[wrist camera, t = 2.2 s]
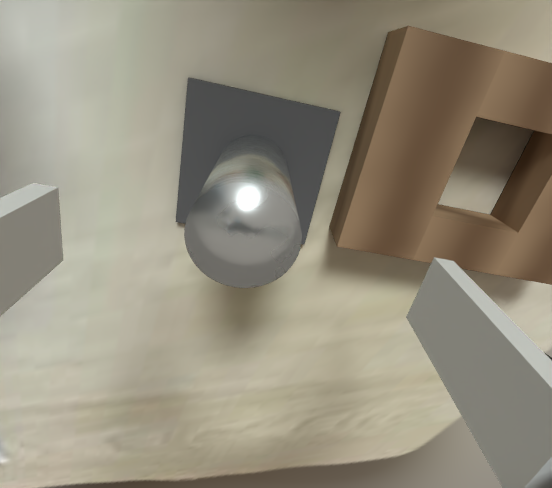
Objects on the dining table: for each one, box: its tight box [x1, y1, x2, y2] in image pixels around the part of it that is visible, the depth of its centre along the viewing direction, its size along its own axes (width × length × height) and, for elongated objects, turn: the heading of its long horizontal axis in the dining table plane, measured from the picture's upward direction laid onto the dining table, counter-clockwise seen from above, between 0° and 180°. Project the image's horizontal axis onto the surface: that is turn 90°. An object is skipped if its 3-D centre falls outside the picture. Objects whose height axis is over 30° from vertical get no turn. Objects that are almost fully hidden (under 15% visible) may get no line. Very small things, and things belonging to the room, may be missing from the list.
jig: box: [329, 26, 552, 285], centre depth 21 cm, size 16×12×3 cm
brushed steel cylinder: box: [184, 135, 302, 288], centre depth 17 cm, size 4×4×10 cm
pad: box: [176, 78, 340, 244], centre depth 22 cm, size 9×9×1 cm
